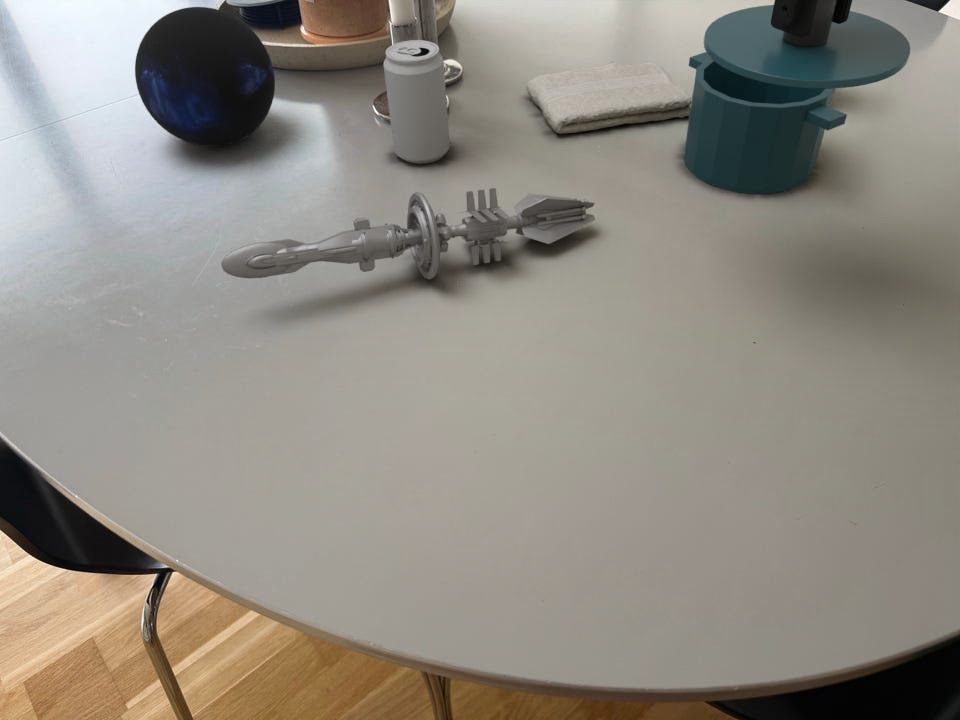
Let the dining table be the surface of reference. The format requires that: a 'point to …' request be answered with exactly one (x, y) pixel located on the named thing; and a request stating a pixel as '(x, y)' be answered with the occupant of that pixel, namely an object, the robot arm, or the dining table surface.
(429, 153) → the beverage can
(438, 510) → the dining table surface
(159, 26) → the decorative sphere
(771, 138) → the pot
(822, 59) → the lid
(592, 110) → the washcloth
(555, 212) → the spaceship
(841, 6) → the robot arm
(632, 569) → the dining table surface
